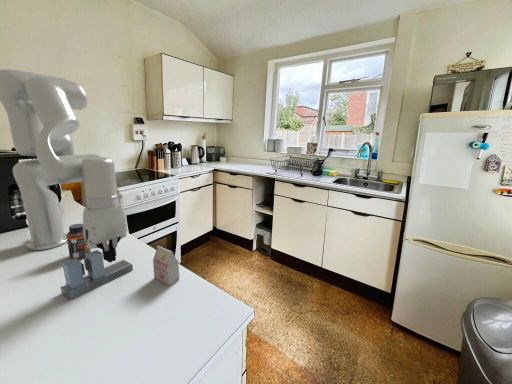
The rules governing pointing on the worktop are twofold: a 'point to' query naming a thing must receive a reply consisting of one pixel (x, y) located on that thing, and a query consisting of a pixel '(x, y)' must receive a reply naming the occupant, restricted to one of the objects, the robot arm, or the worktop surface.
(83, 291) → the rail
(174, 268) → the white drink carton
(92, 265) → the block
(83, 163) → the robot arm
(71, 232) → the supplement bottle
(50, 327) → the worktop surface
